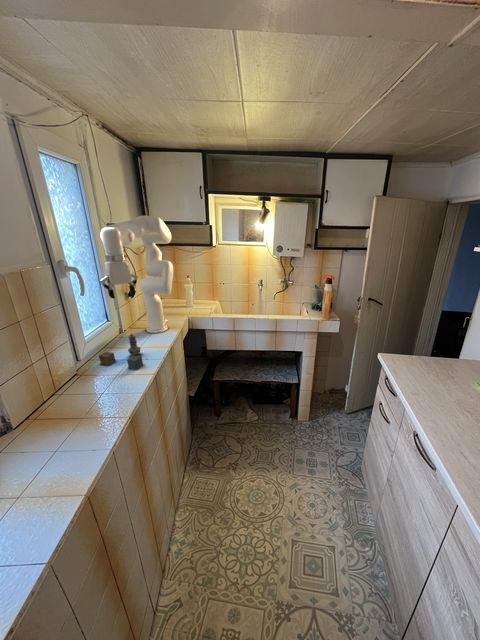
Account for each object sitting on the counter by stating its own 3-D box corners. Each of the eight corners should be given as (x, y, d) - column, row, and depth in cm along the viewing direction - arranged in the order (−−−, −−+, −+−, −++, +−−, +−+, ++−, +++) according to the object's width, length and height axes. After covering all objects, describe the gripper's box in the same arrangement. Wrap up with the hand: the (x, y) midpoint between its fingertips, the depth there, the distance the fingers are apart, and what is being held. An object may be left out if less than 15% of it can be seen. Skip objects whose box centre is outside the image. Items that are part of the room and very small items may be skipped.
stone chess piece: (137, 358, 137) (132, 336, 132) (126, 357, 138) (121, 334, 133) (144, 353, 143) (140, 331, 138) (133, 352, 144) (129, 330, 139)
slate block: (134, 363, 133) (133, 355, 131) (143, 365, 132) (141, 356, 130) (128, 368, 129) (126, 359, 127) (137, 369, 128) (135, 360, 126)
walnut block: (107, 360, 136) (105, 351, 134) (115, 361, 135) (113, 352, 133) (100, 364, 132) (98, 355, 130) (109, 365, 131) (106, 356, 129)
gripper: (130, 256, 134) (136, 292, 141) (91, 259, 122) (100, 298, 129) (138, 257, 130) (144, 294, 137) (99, 260, 118) (107, 300, 125)
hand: (122, 296), depth 133 cm, fingers open, 9 cm apart
